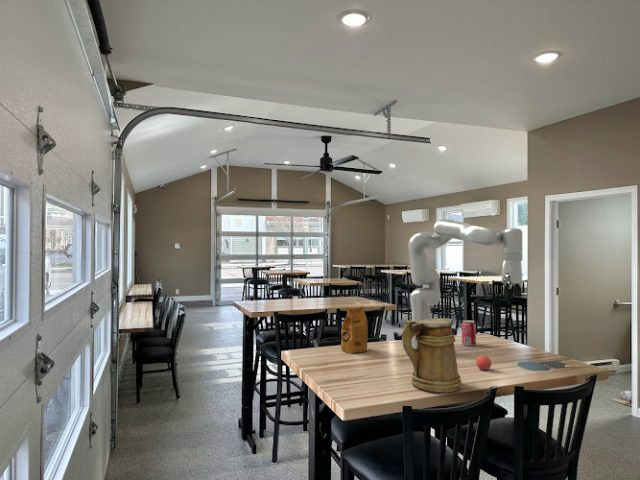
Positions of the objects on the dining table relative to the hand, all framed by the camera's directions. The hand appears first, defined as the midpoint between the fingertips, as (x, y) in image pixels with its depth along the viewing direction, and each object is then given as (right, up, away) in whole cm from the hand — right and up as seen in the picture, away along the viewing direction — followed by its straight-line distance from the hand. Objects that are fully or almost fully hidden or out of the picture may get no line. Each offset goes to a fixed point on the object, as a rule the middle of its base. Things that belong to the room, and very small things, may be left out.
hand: (512, 297), depth 179 cm
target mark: (+12, -31, +6) cm, 34 cm away
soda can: (-3, -32, +46) cm, 56 cm away
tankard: (-41, -31, -21) cm, 55 cm away
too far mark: (+24, -32, +9) cm, 41 cm away
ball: (-12, -28, +1) cm, 31 cm away
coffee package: (-65, -31, +32) cm, 79 cm away
